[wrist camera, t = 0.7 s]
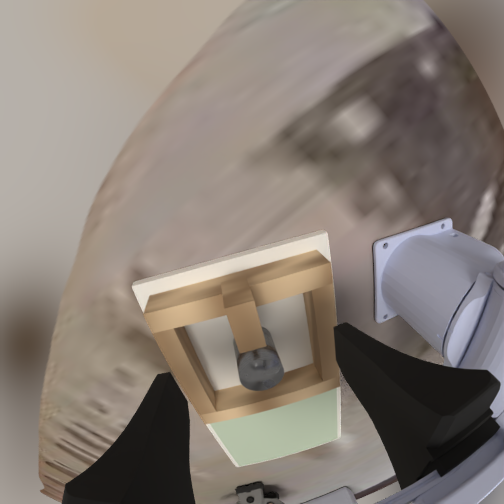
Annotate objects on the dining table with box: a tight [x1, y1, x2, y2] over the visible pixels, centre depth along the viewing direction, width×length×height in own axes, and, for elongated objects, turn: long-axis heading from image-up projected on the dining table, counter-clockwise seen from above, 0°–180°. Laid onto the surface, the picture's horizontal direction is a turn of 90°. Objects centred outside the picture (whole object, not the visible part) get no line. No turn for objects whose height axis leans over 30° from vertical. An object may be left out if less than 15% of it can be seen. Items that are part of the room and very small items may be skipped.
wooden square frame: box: [143, 250, 340, 424], centre depth 18 cm, size 12×13×6 cm
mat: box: [210, 388, 338, 466], centre depth 26 cm, size 13×13×1 cm
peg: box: [233, 326, 284, 391], centre depth 19 cm, size 3×3×4 cm
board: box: [132, 230, 341, 467], centre depth 24 cm, size 14×28×1 cm, turn 13°
